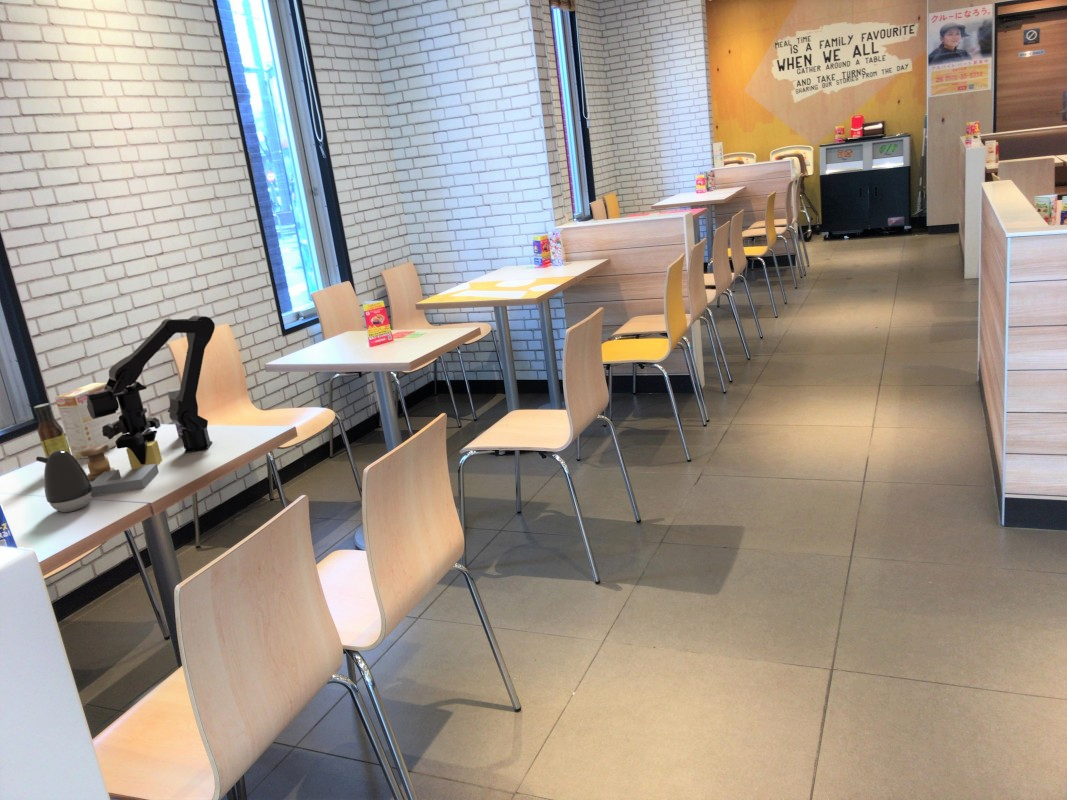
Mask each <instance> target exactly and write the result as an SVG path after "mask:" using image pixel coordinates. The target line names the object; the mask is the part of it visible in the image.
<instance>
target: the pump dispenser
mask: <svg viewBox="0 0 1067 800" xmlns="http://www.w3.org/2000/svg"><path fill="white" fill-rule="evenodd" d="M35 460H36V462H41V463H43V464H45V465H44V472H43V486H44V495H45V499H46V501H47V502H48V503H49V505H50V506H51V507H52V508H53V509H54V510H55V511H58V512H62V513H69V512H70V513H72V512H75V511H78V510H81V509H83V508H84V507H85V506H86V505H88V504H89V502H90V500H91V498H92V496H91V494H92V492H91V491H92V485H91V483H92V482H91V481H90V480H89V478H88V476H87V475H88V473H87V472H86V471H85V469H84V468H83V466H82V465H81V464H80V462H79V461H78V459H75V458H74V457H73V456H72V453H71V454H70V453H69V452H67V451H64V450H57V451H54V452H52V453H51V454H50V455H49V457H48V458H46V456H45V457H44V456H36V458H35Z"/></svg>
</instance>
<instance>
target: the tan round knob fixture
mask: <svg viewBox="0 0 1067 800" xmlns="http://www.w3.org/2000/svg"><path fill="white" fill-rule="evenodd" d="M109 450H110V449H109V447H108V445H107V444H100V445H94V446H90V447H87V448H85V449H83V450H81V451H80V454H81V456H83V457H87V456H88V458H87V459H88V461H87V462H86V465H87V468H88V471H89V473H87V476H88V478H89V480H90V482H93V481H94V480H95V479H96V478H97V477H99V476H100V475H101V474H102V473H103V472H106V471H112V470H116V469H115V468H114V467H111V465H110V461H109V458H108V456H105V453H106V452H107V451H109Z"/></svg>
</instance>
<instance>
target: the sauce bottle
mask: <svg viewBox="0 0 1067 800" xmlns="http://www.w3.org/2000/svg"><path fill="white" fill-rule="evenodd" d="M33 410H34V413H36V416H37V420H38V427H37V433H38V437H39V439H40V440H39V441H40V445H41V447H42V449H43V453H44V455H45V458H48V457H49V455H50V454H51V453H52V452H54V451H57V450H64V451H67V452H69V453H70V454H71V455H72V453H71V449H70V446H69V443H68V439H67V436H66V433H65V430H64V429H63V428H62V426H61V425H60V423H59V422H58V421H57V420H56V419H55V417H54V415H53V412H52V407H51V403H48V402H47V403H42V404H38V405H35V406H34V407H33Z"/></svg>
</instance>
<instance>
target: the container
mask: <svg viewBox="0 0 1067 800" xmlns="http://www.w3.org/2000/svg"><path fill="white" fill-rule="evenodd" d="M166 392H167V396H168V400H169V402H170V399H171V398H172V399H176V398H177V396H178V394H179V392H180V387H174V388H170V389H168V390H167V391H166ZM174 424H175V429H176V432H177V436H178V439H182V438H181V436H182V435H183V434H182V430H183V428H180V426H179V425H178V424H176V423H174Z"/></svg>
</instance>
